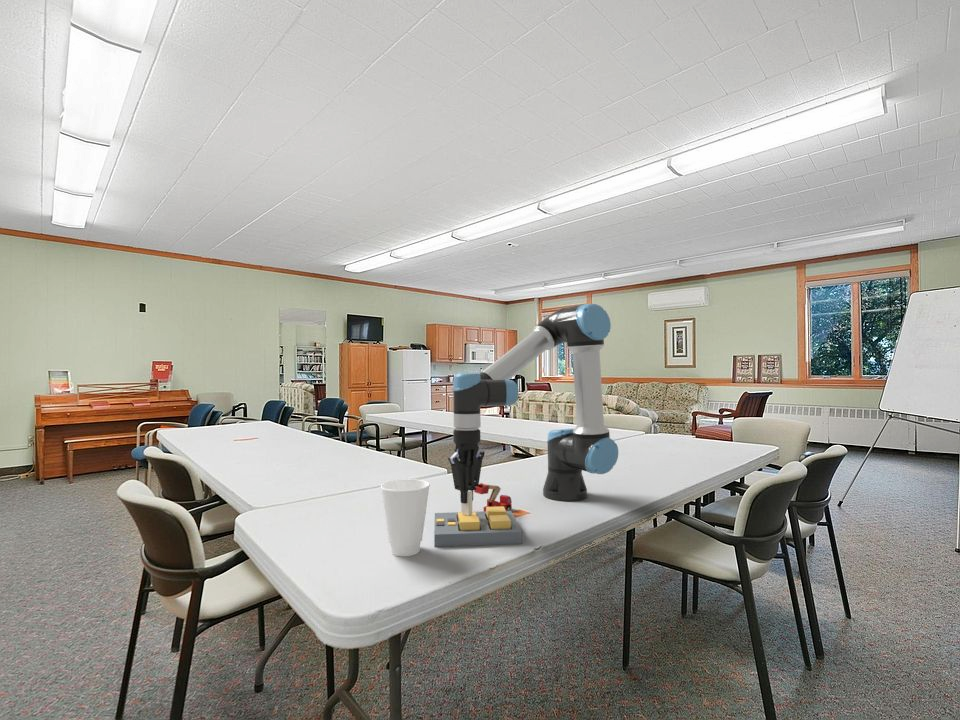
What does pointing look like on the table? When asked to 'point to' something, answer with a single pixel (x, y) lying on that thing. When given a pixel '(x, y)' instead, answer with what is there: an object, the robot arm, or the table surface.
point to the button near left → (499, 522)
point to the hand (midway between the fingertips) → (466, 514)
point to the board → (473, 531)
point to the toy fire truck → (494, 496)
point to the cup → (405, 514)
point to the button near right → (469, 523)
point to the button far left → (495, 511)
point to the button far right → (466, 515)
